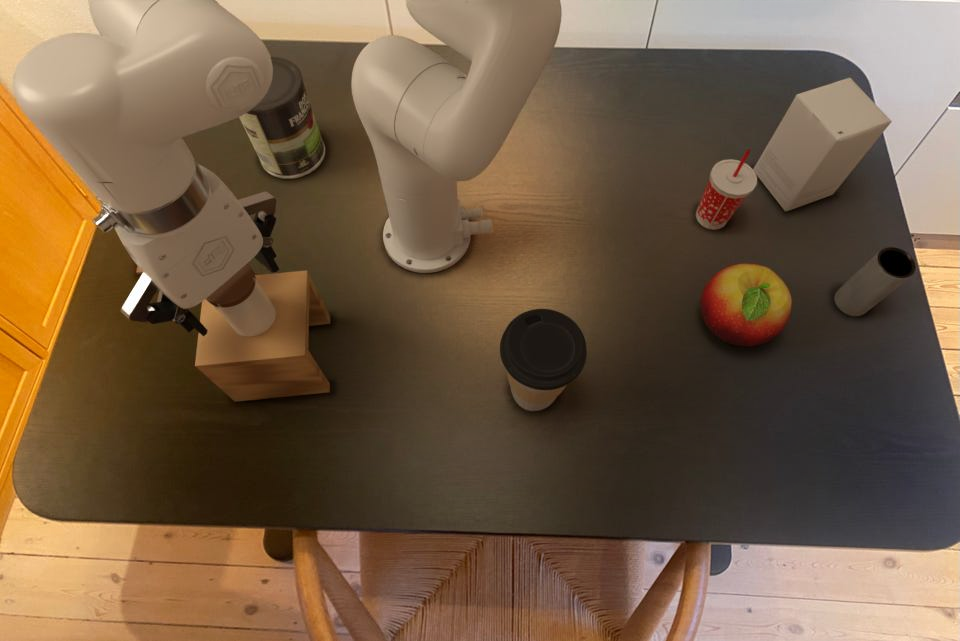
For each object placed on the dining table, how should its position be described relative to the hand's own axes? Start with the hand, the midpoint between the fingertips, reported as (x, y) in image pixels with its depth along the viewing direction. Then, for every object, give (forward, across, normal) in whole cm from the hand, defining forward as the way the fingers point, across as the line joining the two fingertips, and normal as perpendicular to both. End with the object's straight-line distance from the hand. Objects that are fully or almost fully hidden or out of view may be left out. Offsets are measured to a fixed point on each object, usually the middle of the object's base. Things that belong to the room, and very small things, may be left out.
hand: (233, 294), depth 64 cm
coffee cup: (+17, +18, -28) cm, 38 cm away
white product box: (+17, +69, -39) cm, 81 cm away
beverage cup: (+17, +56, -33) cm, 67 cm away
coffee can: (+17, +25, +25) cm, 39 cm away
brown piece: (+17, 0, 0) cm, 17 cm away
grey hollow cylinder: (+17, +55, -54) cm, 79 cm away
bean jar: (+5, 0, 0) cm, 5 cm away
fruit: (+17, +42, -43) cm, 63 cm away
